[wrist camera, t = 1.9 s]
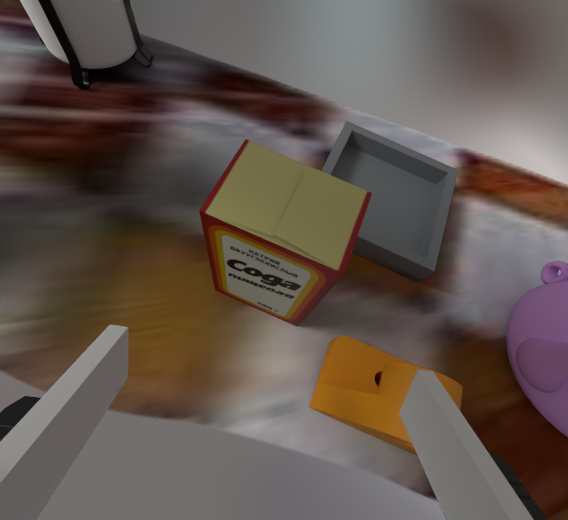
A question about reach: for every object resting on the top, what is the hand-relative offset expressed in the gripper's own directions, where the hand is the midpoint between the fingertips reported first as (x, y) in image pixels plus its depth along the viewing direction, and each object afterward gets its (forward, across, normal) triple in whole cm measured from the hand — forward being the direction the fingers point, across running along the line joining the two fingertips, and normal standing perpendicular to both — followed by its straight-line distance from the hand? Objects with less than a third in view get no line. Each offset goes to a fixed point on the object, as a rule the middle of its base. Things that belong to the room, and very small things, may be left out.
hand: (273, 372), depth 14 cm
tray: (+29, +12, +4) cm, 32 cm away
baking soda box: (+20, 0, -5) cm, 20 cm away
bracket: (+13, +12, -12) cm, 21 cm away
